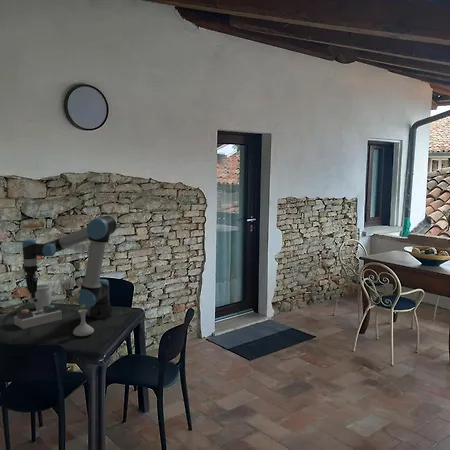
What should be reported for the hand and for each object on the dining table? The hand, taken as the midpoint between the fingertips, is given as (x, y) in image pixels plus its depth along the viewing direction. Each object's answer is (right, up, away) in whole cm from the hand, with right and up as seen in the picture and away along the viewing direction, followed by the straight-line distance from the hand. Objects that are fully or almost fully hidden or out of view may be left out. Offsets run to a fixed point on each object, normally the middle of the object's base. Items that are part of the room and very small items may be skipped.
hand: (32, 302), depth 289 cm
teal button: (+10, -4, +2) cm, 11 cm away
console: (+5, -11, -3) cm, 12 cm away
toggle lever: (+5, -5, -4) cm, 8 cm away
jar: (-2, -8, +23) cm, 24 cm away
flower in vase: (+38, -14, -25) cm, 48 cm away
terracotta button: (-1, -5, -10) cm, 11 cm away
